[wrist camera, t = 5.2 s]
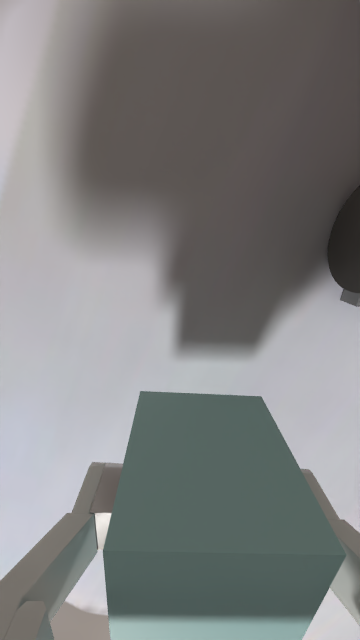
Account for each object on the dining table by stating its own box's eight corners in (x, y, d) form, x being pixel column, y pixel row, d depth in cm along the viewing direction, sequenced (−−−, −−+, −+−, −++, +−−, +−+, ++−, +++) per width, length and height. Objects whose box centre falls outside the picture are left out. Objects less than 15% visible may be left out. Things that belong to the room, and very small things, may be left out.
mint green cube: (261, 396, 9) (347, 555, 5) (242, 480, 11) (291, 659, 6) (140, 391, 9) (103, 551, 4) (139, 477, 11) (112, 659, 6)
